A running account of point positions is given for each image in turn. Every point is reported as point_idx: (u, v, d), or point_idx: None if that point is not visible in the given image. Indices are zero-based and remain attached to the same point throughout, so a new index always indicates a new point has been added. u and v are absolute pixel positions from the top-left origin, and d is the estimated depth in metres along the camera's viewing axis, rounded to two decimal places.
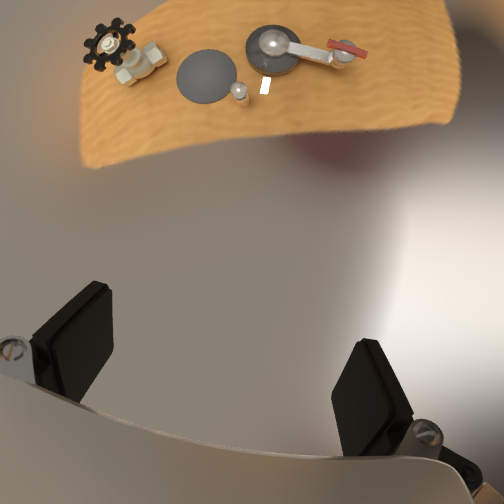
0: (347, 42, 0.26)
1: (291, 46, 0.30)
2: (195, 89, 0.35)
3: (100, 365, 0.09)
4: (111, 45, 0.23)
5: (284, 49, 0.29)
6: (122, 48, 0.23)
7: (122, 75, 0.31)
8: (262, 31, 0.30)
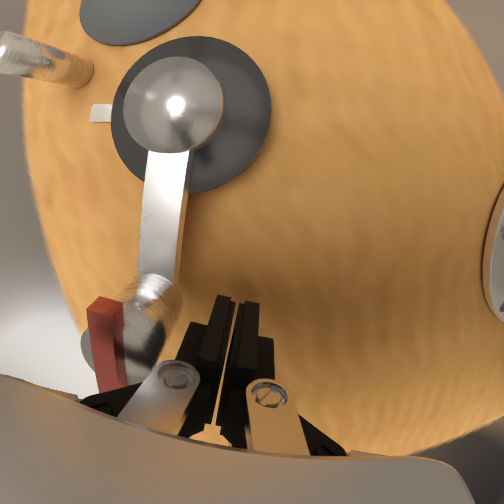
0: (141, 366, 0.08)
1: (171, 163, 0.11)
2: None
3: None
4: None
5: (142, 139, 0.10)
6: None
7: None
8: (242, 73, 0.11)
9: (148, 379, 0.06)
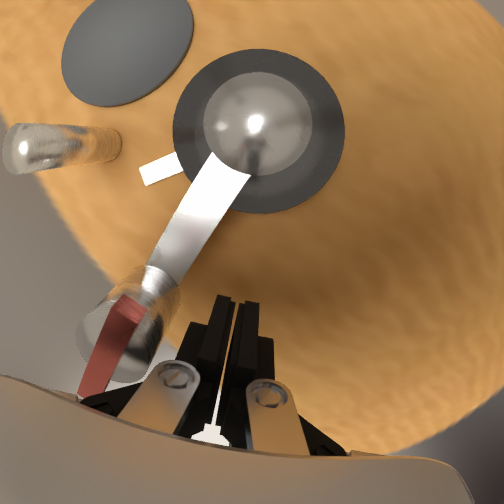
0: (137, 368, 0.08)
1: (229, 177, 0.11)
2: (84, 45, 0.12)
3: None
4: None
5: (214, 143, 0.09)
6: None
7: None
8: (292, 72, 0.10)
9: (148, 379, 0.06)
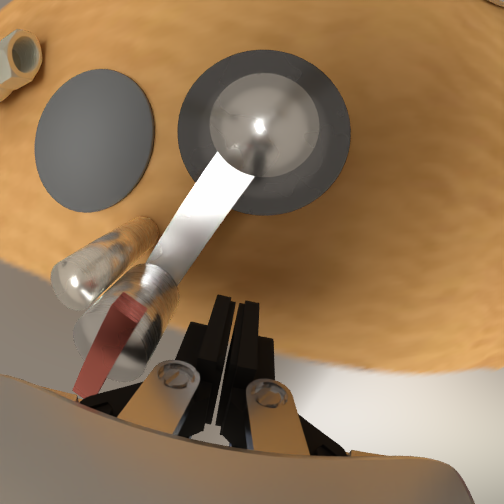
0: (134, 367, 0.08)
1: (233, 177, 0.11)
2: (58, 167, 0.14)
3: None
4: None
5: (219, 143, 0.09)
6: None
7: None
8: (255, 65, 0.10)
9: (148, 379, 0.06)
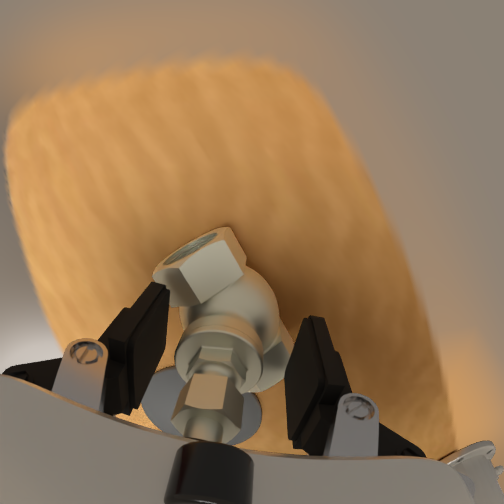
0: None
1: None
2: (167, 397, 0.17)
3: (156, 363, 0.10)
4: None
5: None
6: None
7: (175, 286, 0.11)
8: None
9: (63, 361, 0.06)
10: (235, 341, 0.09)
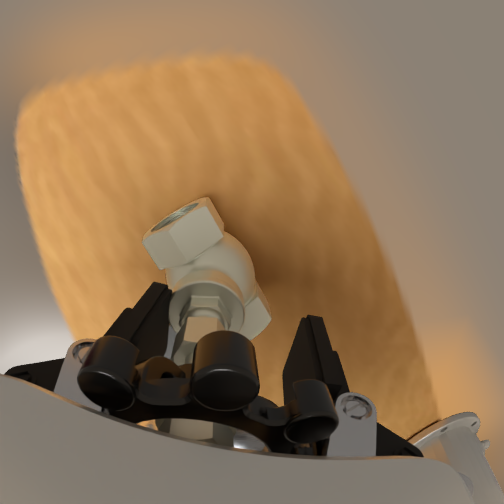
0: None
1: None
2: None
3: None
4: None
5: None
6: None
7: (164, 249, 0.12)
8: None
9: (66, 361, 0.06)
10: (220, 290, 0.11)
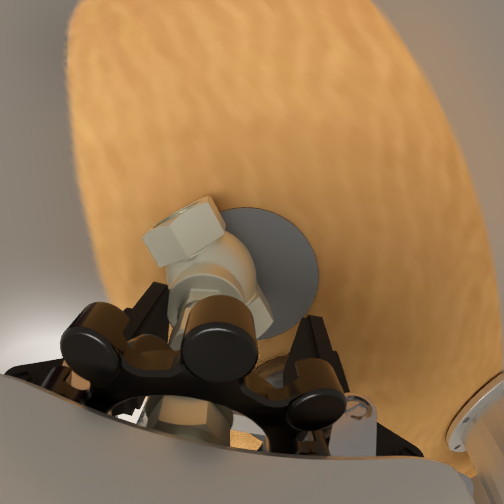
0: None
1: (261, 429, 0.16)
2: None
3: None
4: None
5: None
6: None
7: (164, 244, 0.12)
8: None
9: None
10: (220, 283, 0.10)
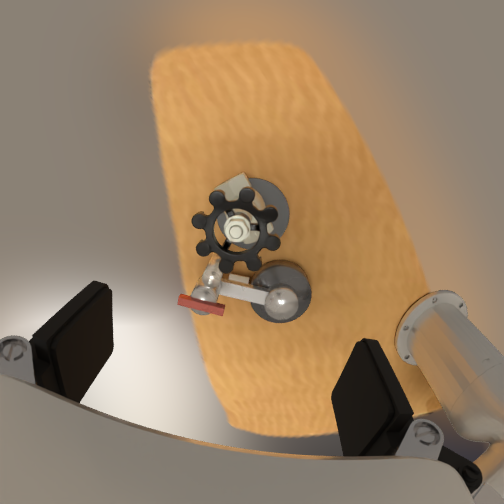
0: (200, 312, 0.29)
1: (261, 299, 0.33)
2: None
3: (100, 365, 0.09)
4: (230, 238, 0.22)
5: (270, 296, 0.31)
6: (220, 257, 0.22)
7: (224, 191, 0.29)
8: (302, 285, 0.33)
9: None
10: None
